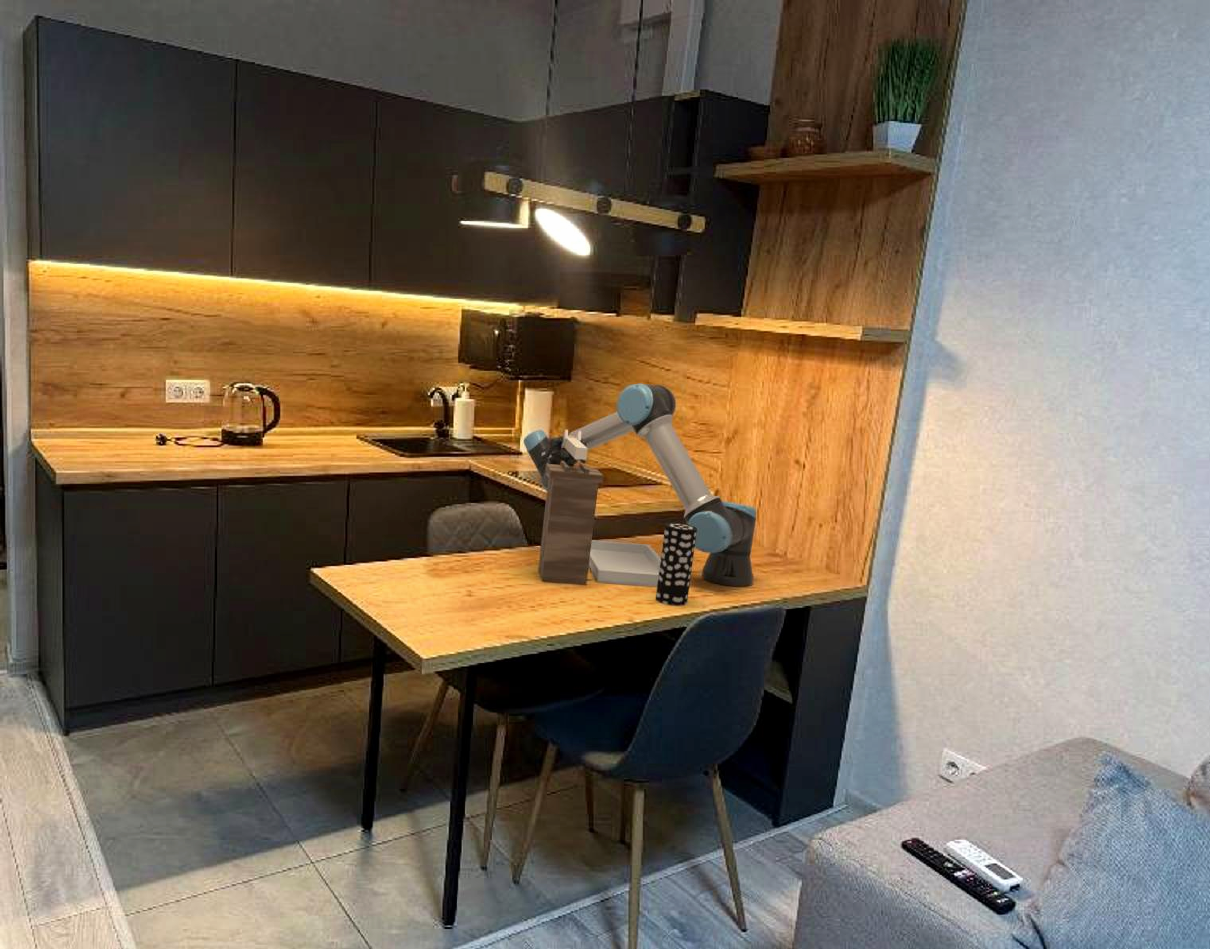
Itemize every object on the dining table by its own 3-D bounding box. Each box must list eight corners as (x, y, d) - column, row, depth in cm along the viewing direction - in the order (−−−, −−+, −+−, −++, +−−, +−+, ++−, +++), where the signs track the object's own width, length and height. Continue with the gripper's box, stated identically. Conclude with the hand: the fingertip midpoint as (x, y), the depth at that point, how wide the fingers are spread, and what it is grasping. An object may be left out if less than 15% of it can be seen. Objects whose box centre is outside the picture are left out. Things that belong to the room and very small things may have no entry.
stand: (590, 585, 248) (604, 471, 243) (538, 581, 245) (551, 466, 241) (583, 573, 260) (596, 464, 256) (534, 569, 258) (546, 459, 254)
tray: (675, 588, 256) (676, 576, 255) (597, 582, 252) (598, 570, 251) (647, 555, 293) (648, 544, 292) (579, 549, 289) (580, 538, 288)
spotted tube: (663, 594, 248) (672, 521, 245) (691, 601, 244) (701, 527, 242) (650, 600, 241) (660, 525, 238) (679, 607, 237) (690, 531, 234)
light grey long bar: (586, 459, 239) (587, 448, 239) (574, 458, 239) (576, 447, 238) (572, 446, 267) (573, 436, 266) (562, 445, 266) (563, 434, 266)
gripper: (585, 479, 278) (601, 450, 257) (532, 474, 275) (543, 444, 254) (586, 456, 281) (601, 425, 259) (534, 451, 278) (545, 419, 257)
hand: (573, 434), depth 257 cm, fingers closed on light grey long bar, 3 cm apart
